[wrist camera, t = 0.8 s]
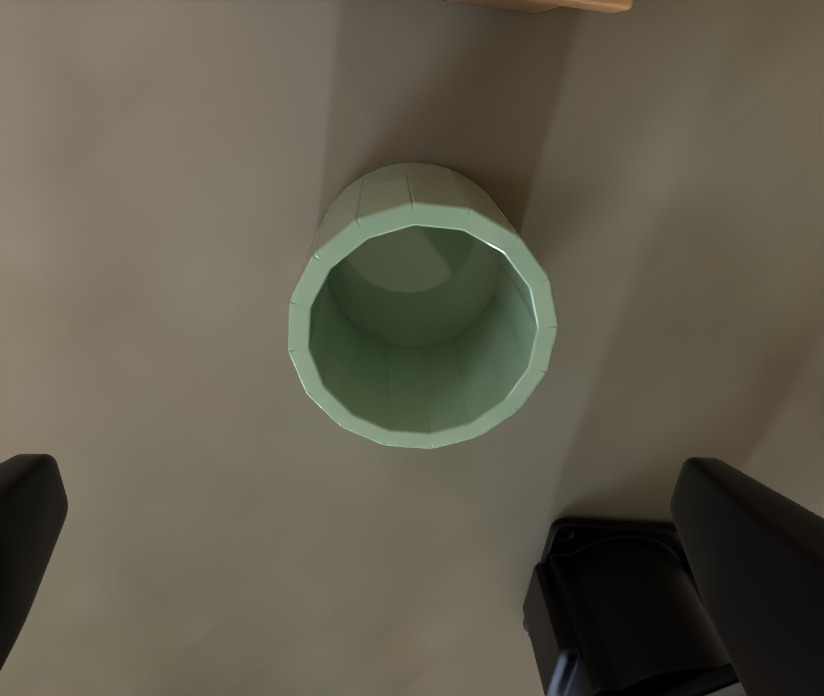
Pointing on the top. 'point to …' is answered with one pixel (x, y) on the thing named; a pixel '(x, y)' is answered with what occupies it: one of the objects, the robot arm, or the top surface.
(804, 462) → the top surface
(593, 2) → the shelf
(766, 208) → the top surface
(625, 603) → the robot arm
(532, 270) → the ramekin
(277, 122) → the top surface
